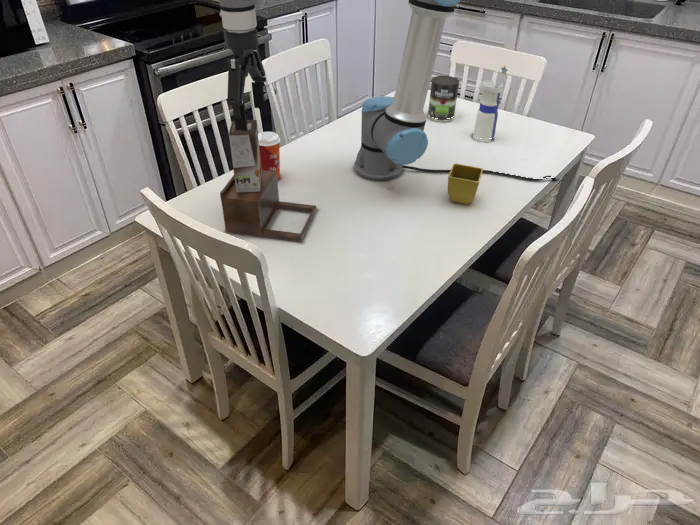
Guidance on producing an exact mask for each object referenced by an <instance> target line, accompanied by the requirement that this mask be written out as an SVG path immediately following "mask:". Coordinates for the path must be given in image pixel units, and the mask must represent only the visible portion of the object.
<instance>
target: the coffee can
mask: <svg viewBox="0 0 700 525" xmlns="http://www.w3.org/2000/svg"><path fill="white" fill-rule="evenodd" d="M430 84H431V85H430V93H429V100H428V101H429V102H428V110H427V117H428V119H430V120H431V121H434V122H440V123H446V122H451V121H453V120H455V113H456V107H457V100H458V93H459V85H460V79H459V78H457V77H454V76H449V75H437V76H436V75H435V76H434V77H431V80H430ZM428 114H429V115H430V116H429V115H428ZM453 116H454V117H453ZM432 117H434V118H432ZM451 117H453V118H451ZM435 118H438V119H435ZM447 118H450V119H447Z"/></svg>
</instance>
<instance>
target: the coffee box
mask: <svg viewBox="0 0 700 525" xmlns="http://www.w3.org/2000/svg"><path fill="white" fill-rule="evenodd" d="M246 120H247V128H248V130H247V131H240V130H236V127H235V120H232V121H231V123H230V124H231V125H230V128H229V132H228V139H229V147H230V154H231V161H232V170H233V175H234V177H235V185H236V192H237V193H240V192H259V191H260V187H261V180H262V170H261V160H260V150H259V140H258V134H259V131H258V122H257V119H246Z"/></svg>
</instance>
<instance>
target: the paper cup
mask: <svg viewBox="0 0 700 525" xmlns="http://www.w3.org/2000/svg"><path fill="white" fill-rule="evenodd" d="M258 140H259V150H260V160H261V170H265V171H274V172H277V180H278V181H279V180H280V178H281V159H280V156H281V152H280V151H281V150H280V148H281V147H280V142H281V138H280V135H279V134H278V133H276V132H275V131H262V132H258Z"/></svg>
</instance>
